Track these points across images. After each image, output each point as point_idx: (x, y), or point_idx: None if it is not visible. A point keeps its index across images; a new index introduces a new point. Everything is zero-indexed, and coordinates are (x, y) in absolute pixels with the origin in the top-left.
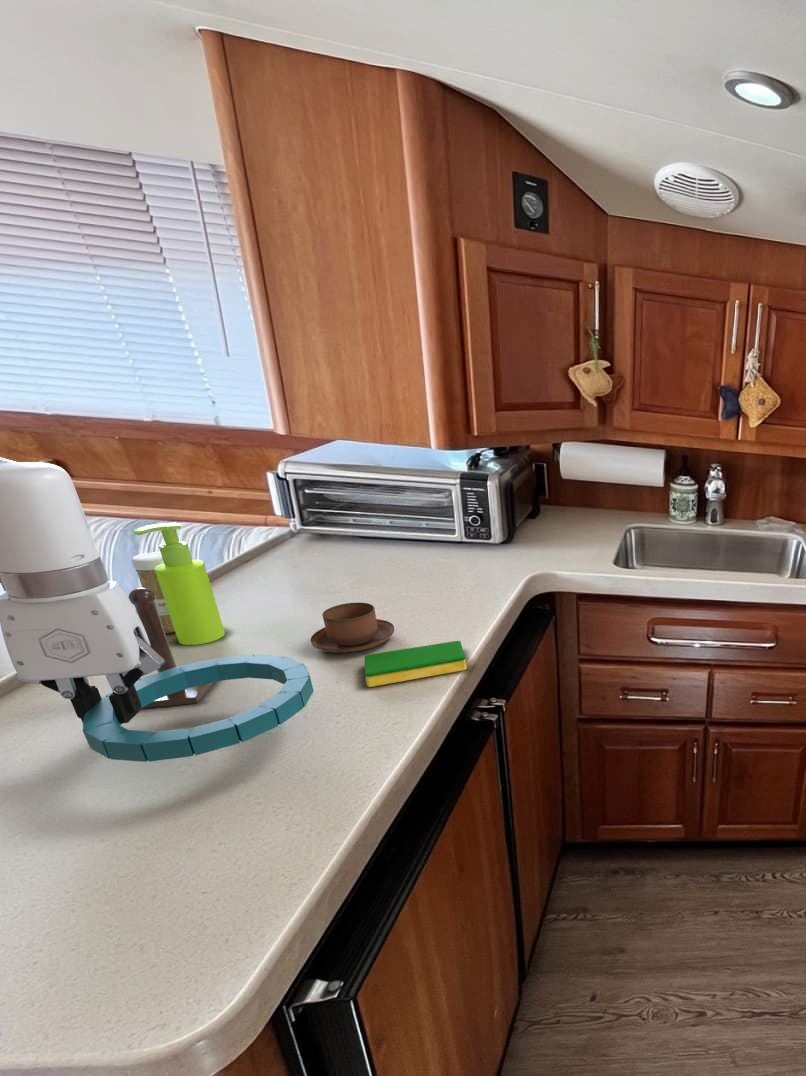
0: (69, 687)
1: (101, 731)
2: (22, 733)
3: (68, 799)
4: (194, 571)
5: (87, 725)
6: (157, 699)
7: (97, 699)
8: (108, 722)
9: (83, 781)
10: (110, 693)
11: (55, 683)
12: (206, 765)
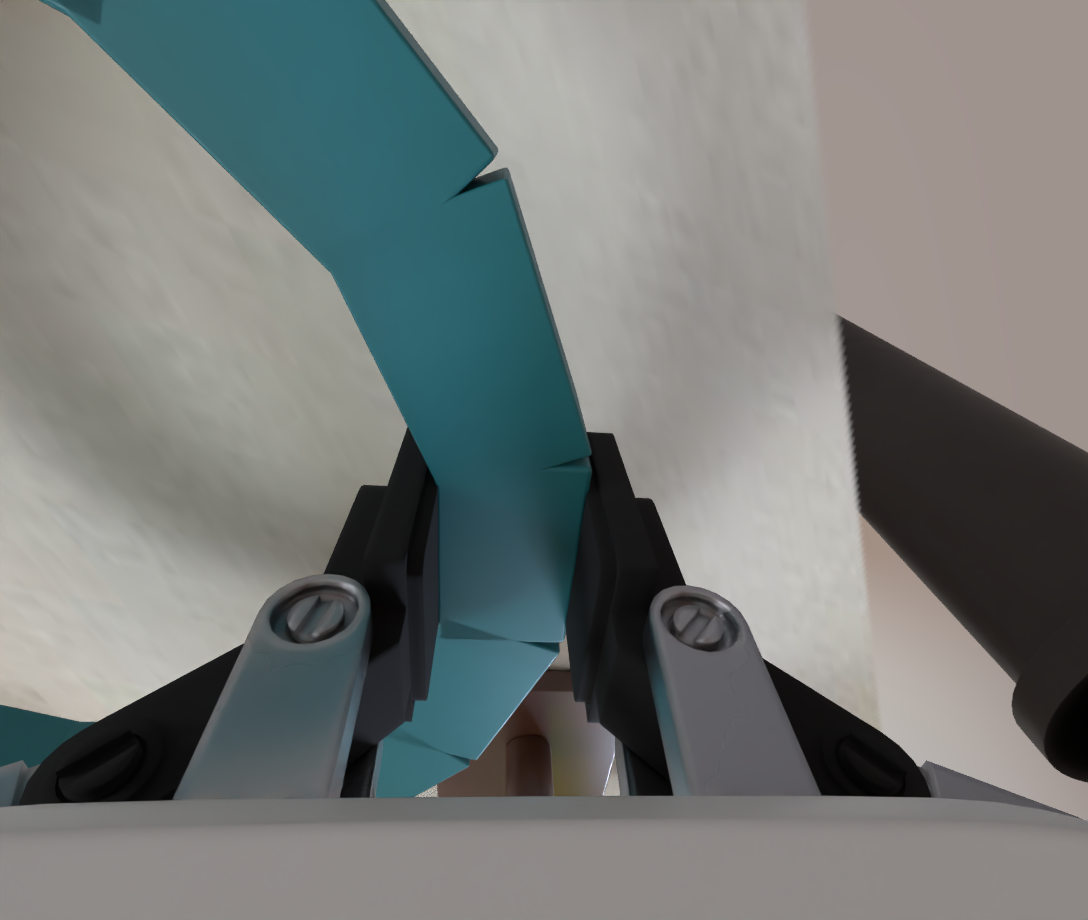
0: (687, 682)
1: (319, 69)
2: (848, 621)
3: (634, 119)
4: None
5: (503, 265)
6: (544, 697)
7: (572, 613)
8: (361, 270)
9: (620, 264)
10: (543, 669)
11: (807, 752)
12: (170, 224)
